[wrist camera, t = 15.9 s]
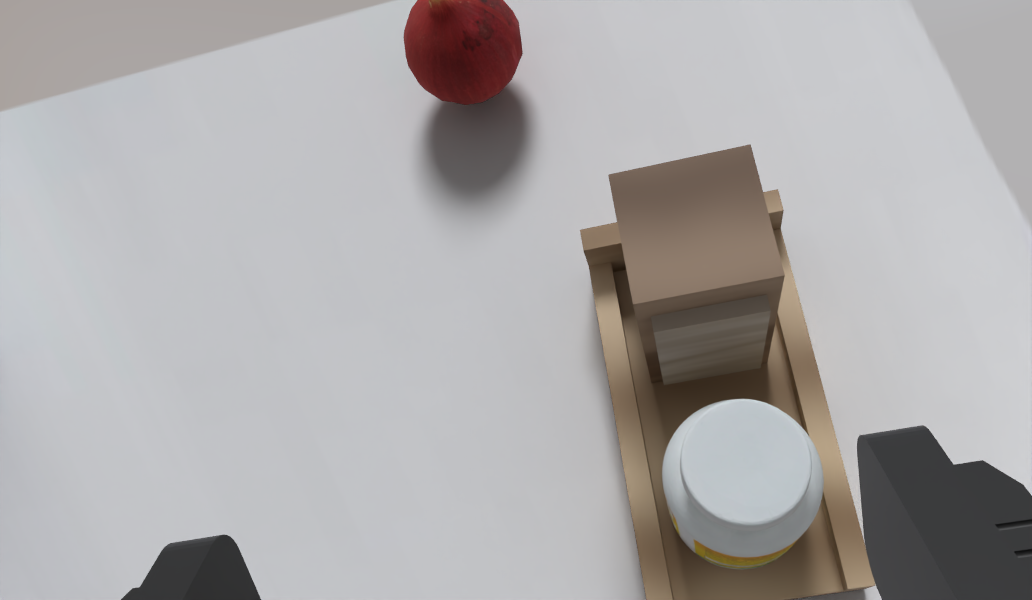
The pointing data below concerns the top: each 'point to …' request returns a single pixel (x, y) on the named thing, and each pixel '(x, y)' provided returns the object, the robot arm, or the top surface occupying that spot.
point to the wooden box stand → (712, 361)
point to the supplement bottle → (741, 482)
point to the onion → (462, 48)
